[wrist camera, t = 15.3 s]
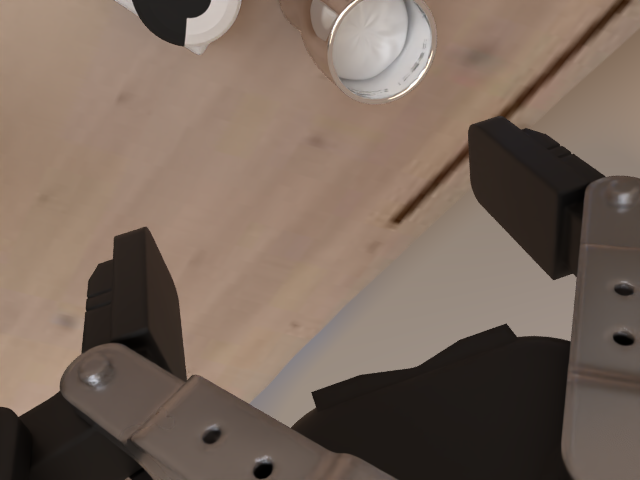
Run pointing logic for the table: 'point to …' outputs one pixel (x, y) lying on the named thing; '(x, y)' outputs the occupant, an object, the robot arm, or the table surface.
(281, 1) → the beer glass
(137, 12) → the medicine bottle
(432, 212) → the table surface
